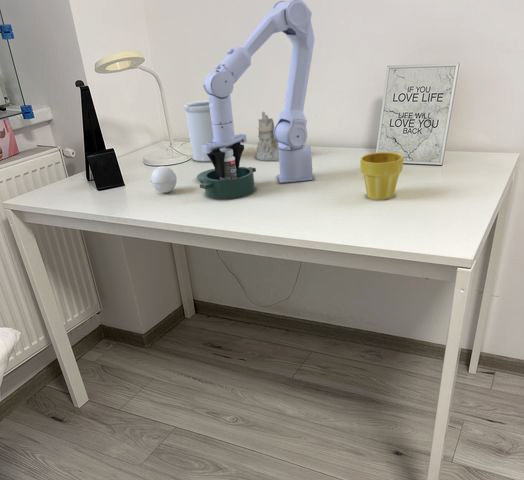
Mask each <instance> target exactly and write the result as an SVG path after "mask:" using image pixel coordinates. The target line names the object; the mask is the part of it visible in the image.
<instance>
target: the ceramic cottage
mask: <svg viewBox="0 0 524 480" xmlns="http://www.w3.org/2000/svg"><path fill="white" fill-rule="evenodd" d="M274 127H275V122H274V119H273V118H272V117H271V118H269V116H268V115H267V114H266V112H265V111H264V110H263V111H261V119H260V118H259V119H258V136H257V137H258V138H259V139H258V142H257V146H256V147H257V148H256V156H255V157H256V159H257V160H259V161H270V162H271V161H275V162H277V161H278V162H279V151H278V141H277V140H276V139H275V137H274Z"/></svg>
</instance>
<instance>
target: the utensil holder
mask: <svg viewBox="0 0 524 480" xmlns="http://www.w3.org/2000/svg"><path fill="white" fill-rule="evenodd" d="M183 110H184V112H185V116H186V123H187V130H188V136H189V144H190V148H191V154H192V159H193V160H194V161H196V162H211V160H210V158H209V157H208V156H207V154H206V153H203V152H202V145H205V144H207V143H209V142H211V141H213V139H214V138H213V130H212V122H211V114H210V106H209V99H205V100H198V101H191V102H187V103H185V104H184V105H183ZM222 149H226V148H222Z"/></svg>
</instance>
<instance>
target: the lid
mask: <svg viewBox="0 0 524 480" xmlns="http://www.w3.org/2000/svg"><path fill="white" fill-rule="evenodd" d="M214 169H215V168H211V169H207V170H204V171H201V172H200V173H198V174H197V175H196V180H197V181H199V182H203V183H204V177H203V175H204V174H205V173H207V172H209V171H211V170H214Z"/></svg>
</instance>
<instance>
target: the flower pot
mask: <svg viewBox="0 0 524 480" xmlns="http://www.w3.org/2000/svg"><path fill="white" fill-rule="evenodd" d="M359 163H360V165H359V167H360V168H359V169H360V173H361V174H362V176H363V181H364V185H365V191H366V196H367V198H368V199H370V200H373V201H384V200H389V199H392V198H393V197H394V195H395V192H396V189H397V185H398V181H399V178H400V177H399V176H400V174H401V173H402V171H403V167H404V156H403V154H400V153H398V152H393V151H380V152H379V151H378V152H372V153H368V154H365V155H363V156H361V158H360V161H359Z"/></svg>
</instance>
